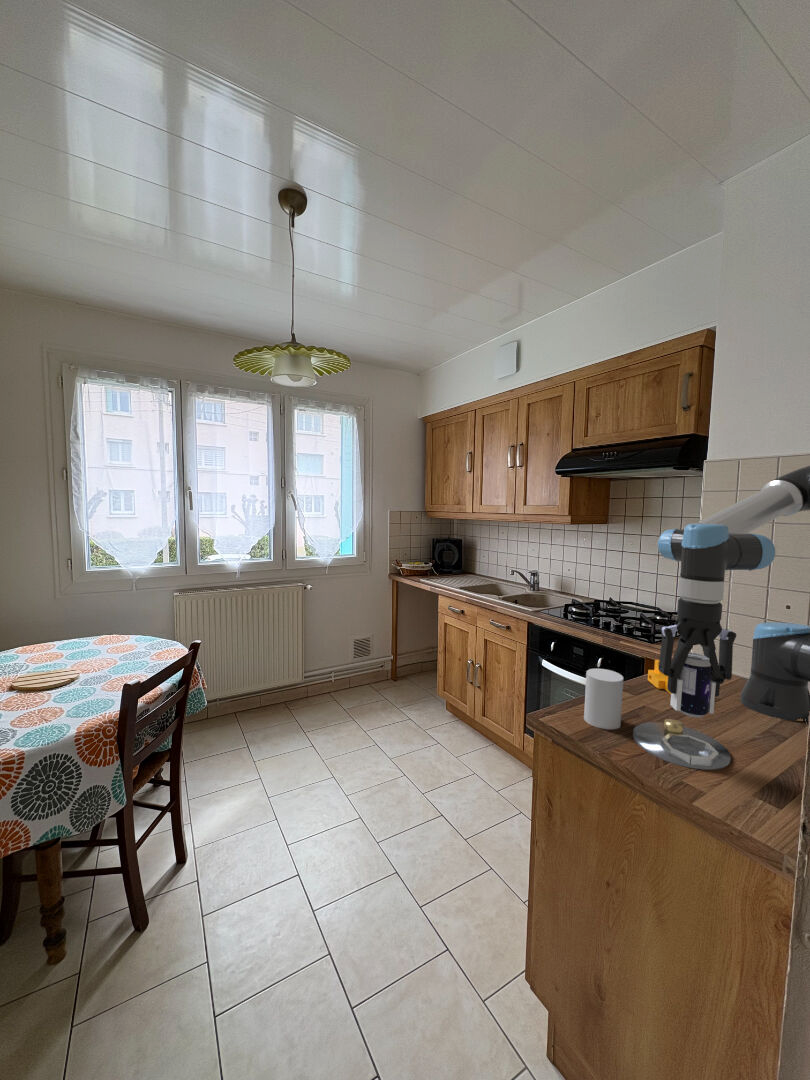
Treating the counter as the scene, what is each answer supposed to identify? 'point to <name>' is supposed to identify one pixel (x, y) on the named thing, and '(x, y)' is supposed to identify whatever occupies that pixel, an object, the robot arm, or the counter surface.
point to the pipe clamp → (658, 677)
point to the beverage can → (695, 685)
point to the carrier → (681, 745)
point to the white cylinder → (603, 698)
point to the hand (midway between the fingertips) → (691, 709)
